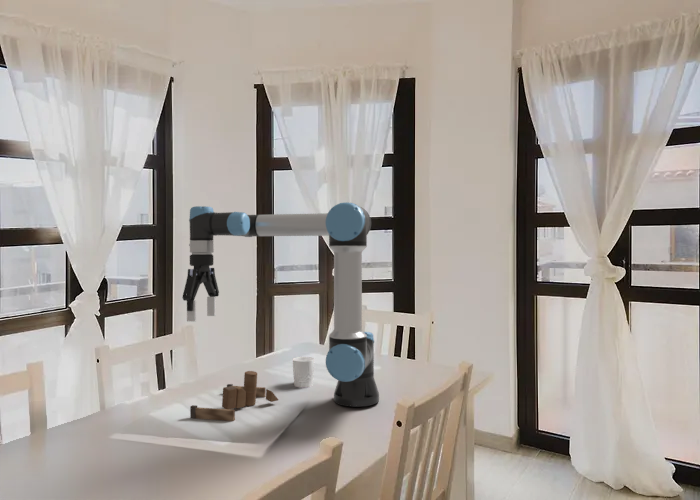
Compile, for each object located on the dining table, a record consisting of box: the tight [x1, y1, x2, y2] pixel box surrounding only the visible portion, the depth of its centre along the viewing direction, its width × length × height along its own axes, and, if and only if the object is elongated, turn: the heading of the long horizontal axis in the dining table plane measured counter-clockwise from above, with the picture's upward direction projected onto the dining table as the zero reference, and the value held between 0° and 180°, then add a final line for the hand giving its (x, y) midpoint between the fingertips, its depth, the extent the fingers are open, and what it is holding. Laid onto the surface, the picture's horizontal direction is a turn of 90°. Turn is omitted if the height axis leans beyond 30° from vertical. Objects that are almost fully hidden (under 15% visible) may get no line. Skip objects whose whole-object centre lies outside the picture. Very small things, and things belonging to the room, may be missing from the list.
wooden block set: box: [221, 370, 279, 410], centre depth 163 cm, size 18×9×10 cm, turn 135°
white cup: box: [292, 356, 315, 389], centre depth 189 cm, size 8×8×10 cm
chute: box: [189, 383, 266, 422], centre depth 165 cm, size 14×26×4 cm, turn 168°
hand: (201, 318), depth 169 cm, fingers open, 13 cm apart
